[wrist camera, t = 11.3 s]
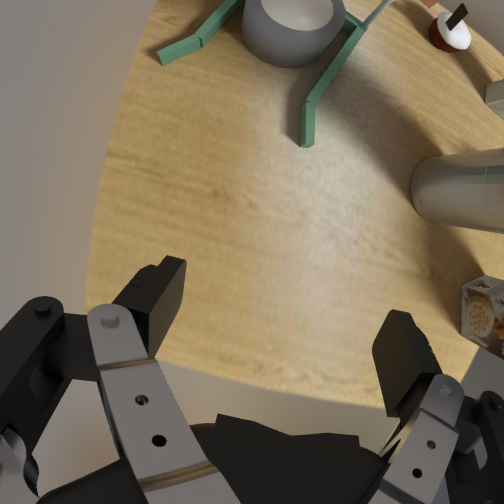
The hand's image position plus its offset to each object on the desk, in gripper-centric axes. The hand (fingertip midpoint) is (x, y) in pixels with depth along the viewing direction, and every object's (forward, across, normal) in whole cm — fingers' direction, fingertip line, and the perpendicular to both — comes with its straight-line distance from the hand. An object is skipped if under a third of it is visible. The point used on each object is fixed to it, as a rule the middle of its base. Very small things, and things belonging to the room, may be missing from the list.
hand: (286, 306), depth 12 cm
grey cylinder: (+32, +4, -18) cm, 37 cm away
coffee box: (+30, -35, +12) cm, 47 cm away
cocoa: (+39, -18, -27) cm, 51 cm away
